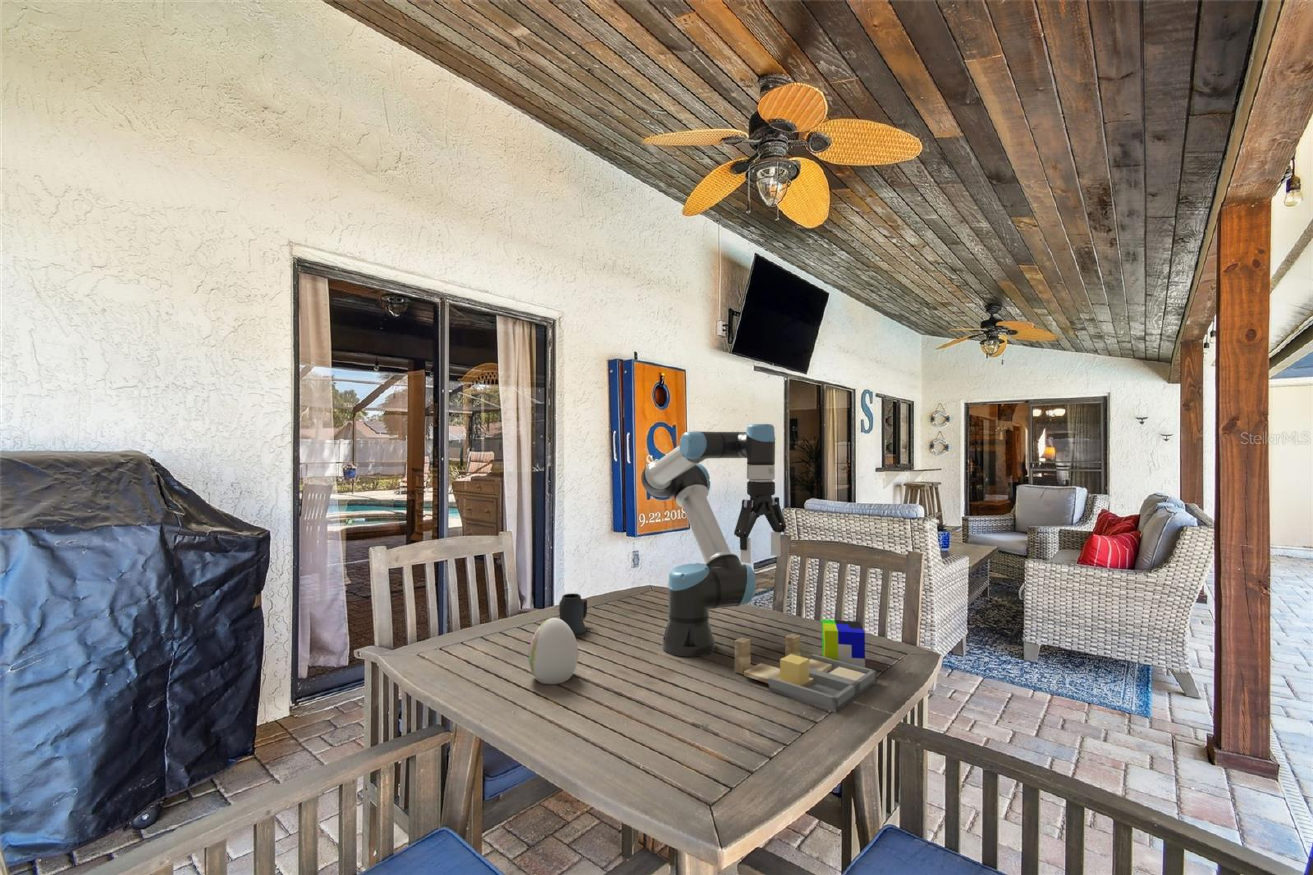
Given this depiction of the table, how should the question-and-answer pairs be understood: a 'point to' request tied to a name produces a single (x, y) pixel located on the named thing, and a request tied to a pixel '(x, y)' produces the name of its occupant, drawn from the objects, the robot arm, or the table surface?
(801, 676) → the cube
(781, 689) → the board
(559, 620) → the decorative egg
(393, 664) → the table surface
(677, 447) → the robot arm
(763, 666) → the strip
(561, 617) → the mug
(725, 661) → the table surface
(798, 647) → the strip
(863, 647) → the puzzle toy
